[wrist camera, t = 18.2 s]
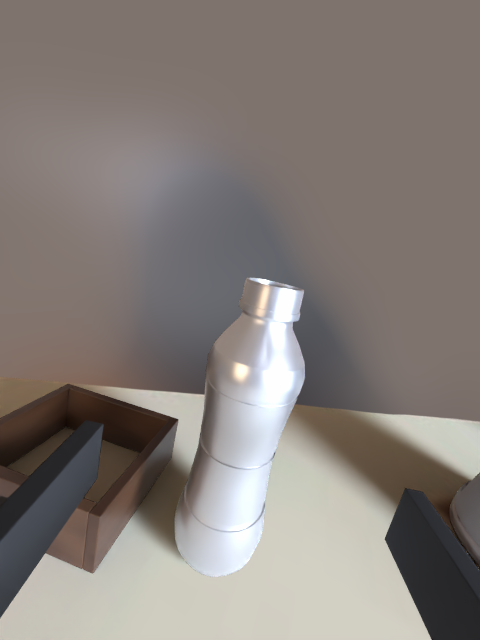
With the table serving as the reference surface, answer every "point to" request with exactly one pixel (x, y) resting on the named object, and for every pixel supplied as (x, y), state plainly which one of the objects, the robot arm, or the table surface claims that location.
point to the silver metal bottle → (241, 429)
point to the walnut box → (119, 428)
